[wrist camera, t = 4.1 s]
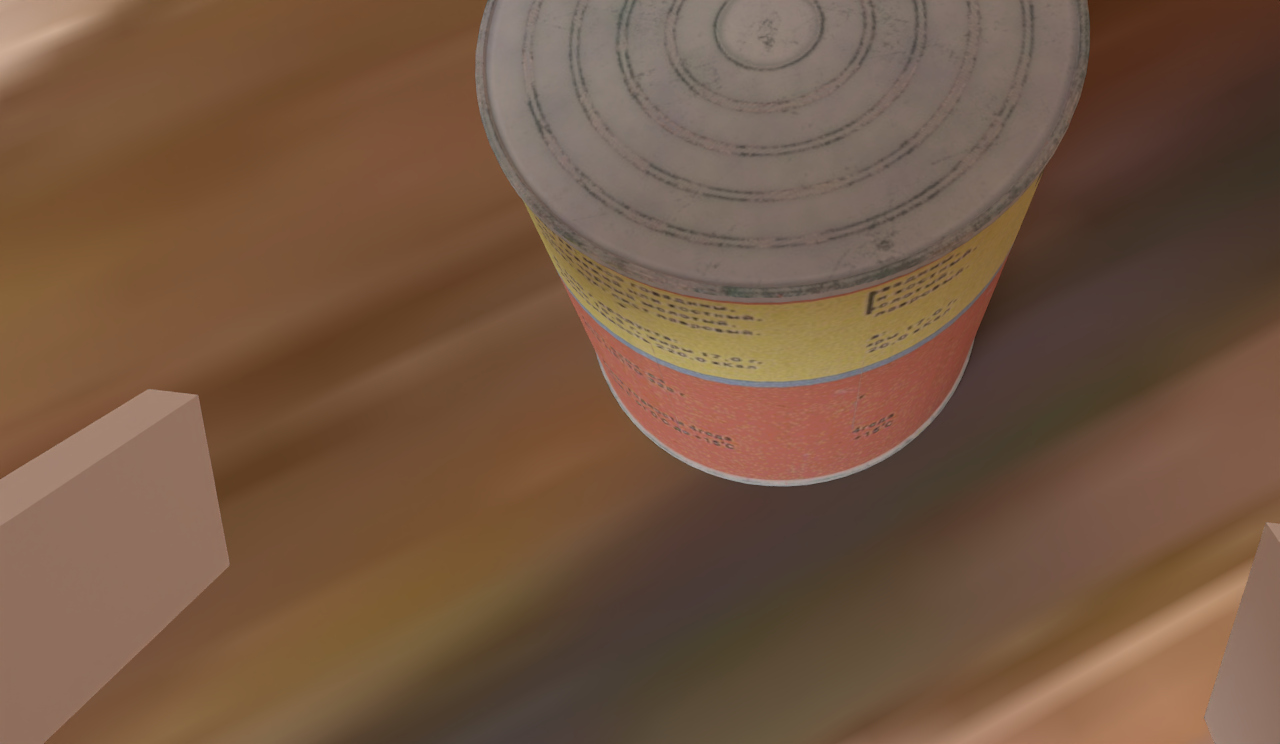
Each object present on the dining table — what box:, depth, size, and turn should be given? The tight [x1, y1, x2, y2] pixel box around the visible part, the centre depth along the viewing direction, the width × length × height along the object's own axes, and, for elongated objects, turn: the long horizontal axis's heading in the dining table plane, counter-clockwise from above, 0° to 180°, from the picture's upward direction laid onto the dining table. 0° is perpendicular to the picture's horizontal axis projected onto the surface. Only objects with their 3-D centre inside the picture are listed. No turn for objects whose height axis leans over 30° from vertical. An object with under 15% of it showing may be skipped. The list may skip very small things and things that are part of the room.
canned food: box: [475, 0, 1090, 486], centre depth 24 cm, size 11×11×12 cm
